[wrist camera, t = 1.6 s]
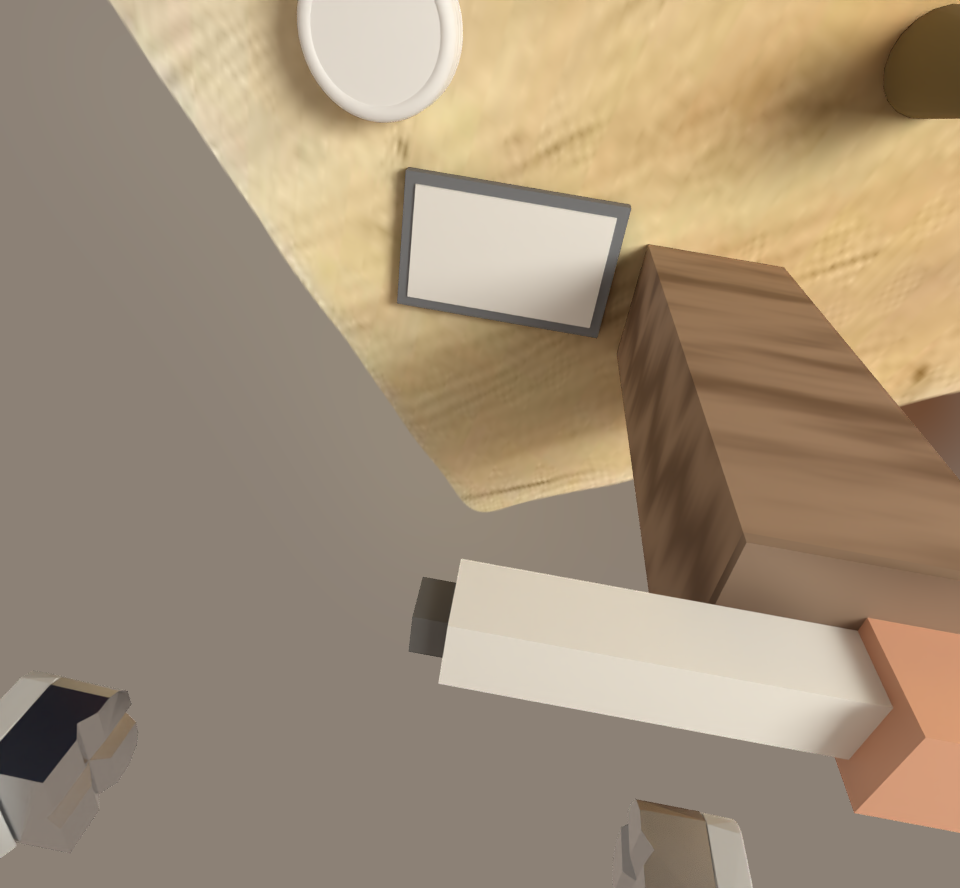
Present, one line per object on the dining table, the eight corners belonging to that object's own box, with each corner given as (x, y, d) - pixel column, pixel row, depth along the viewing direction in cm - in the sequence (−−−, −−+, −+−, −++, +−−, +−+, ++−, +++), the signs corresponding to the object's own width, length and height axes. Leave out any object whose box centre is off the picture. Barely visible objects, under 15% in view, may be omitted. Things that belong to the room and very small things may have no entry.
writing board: (408, 166, 46) (405, 170, 45) (630, 204, 46) (631, 208, 45) (400, 298, 52) (396, 304, 51) (596, 332, 51) (597, 339, 50)
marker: (429, 538, 22) (401, 640, 19) (1013, 643, 22) (1101, 769, 18) (419, 621, 25) (393, 726, 21) (943, 718, 24) (1008, 841, 21)
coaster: (291, -46, 40) (269, -50, 37) (445, -87, 38) (435, -95, 35) (339, 129, 45) (323, 137, 43) (477, 100, 43) (470, 107, 41)
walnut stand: (648, 244, 47) (746, 542, 21) (784, 267, 47) (1057, 598, 21) (616, 354, 52) (664, 704, 26) (739, 375, 52) (912, 751, 26)
